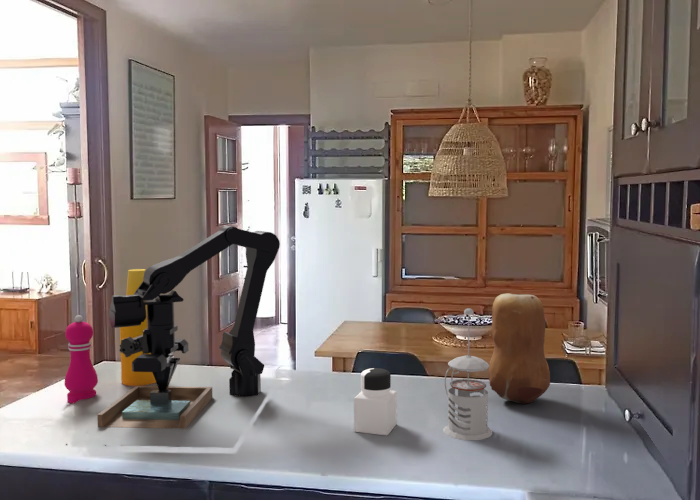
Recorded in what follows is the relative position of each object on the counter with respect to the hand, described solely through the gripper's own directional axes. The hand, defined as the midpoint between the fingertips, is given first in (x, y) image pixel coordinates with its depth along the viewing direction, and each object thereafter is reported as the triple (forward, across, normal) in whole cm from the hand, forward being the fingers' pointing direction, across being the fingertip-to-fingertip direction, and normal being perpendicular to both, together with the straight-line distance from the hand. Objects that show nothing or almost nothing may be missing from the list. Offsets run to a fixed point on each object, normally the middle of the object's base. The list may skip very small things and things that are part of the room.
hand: (162, 392), depth 146 cm
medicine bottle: (+4, +8, +47) cm, 48 cm away
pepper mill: (+4, -7, -22) cm, 23 cm away
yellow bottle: (+4, -20, -13) cm, 24 cm away
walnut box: (+4, +3, 0) cm, 5 cm away
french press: (+4, +8, +65) cm, 66 cm away
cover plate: (+3, +4, 0) cm, 5 cm away
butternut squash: (+4, -12, +79) cm, 80 cm away
